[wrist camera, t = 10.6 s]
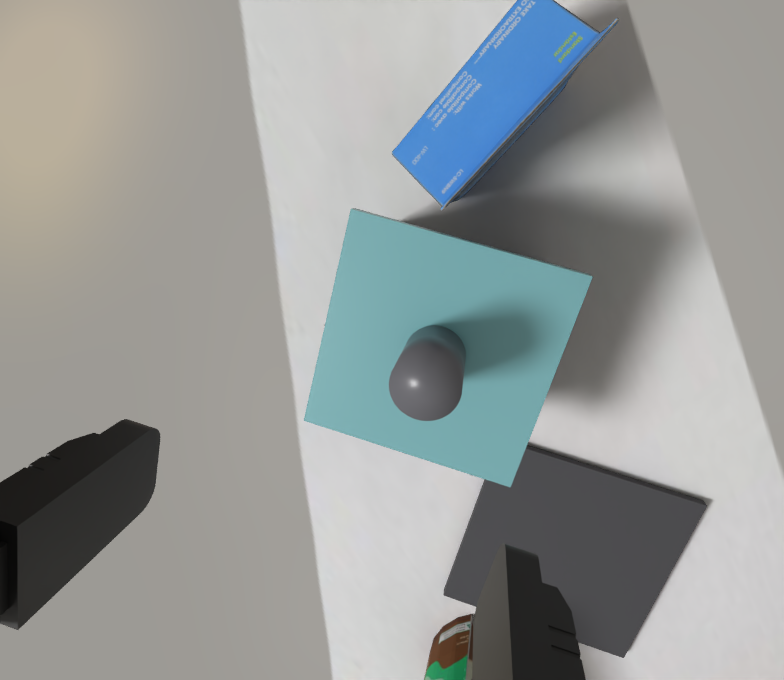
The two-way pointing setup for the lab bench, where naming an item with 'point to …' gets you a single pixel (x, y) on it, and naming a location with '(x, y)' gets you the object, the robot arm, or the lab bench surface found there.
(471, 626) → the food container
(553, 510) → the mat
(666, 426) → the lab bench surface
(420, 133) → the label tape cartridge
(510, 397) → the lid
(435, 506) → the lab bench surface
